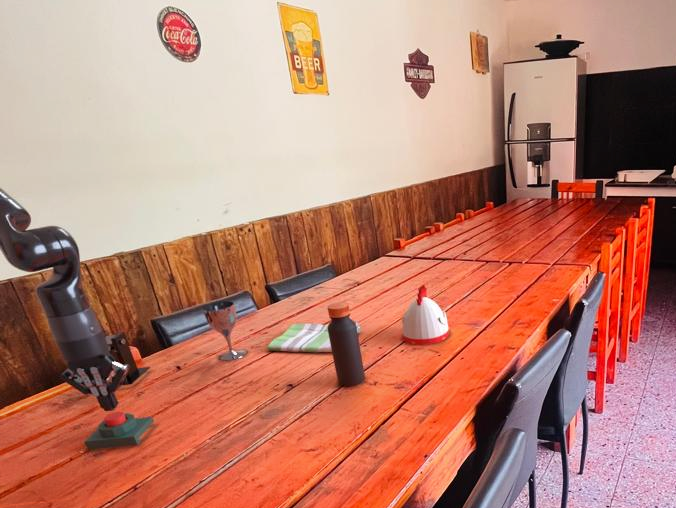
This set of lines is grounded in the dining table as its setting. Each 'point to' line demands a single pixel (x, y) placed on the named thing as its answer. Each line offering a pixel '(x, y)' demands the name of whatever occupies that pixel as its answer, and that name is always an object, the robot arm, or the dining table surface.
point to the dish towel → (304, 339)
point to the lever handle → (110, 346)
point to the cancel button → (115, 419)
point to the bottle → (345, 345)
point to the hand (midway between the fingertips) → (111, 409)
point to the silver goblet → (223, 324)
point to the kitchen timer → (424, 321)
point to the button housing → (119, 433)
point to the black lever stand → (125, 358)
